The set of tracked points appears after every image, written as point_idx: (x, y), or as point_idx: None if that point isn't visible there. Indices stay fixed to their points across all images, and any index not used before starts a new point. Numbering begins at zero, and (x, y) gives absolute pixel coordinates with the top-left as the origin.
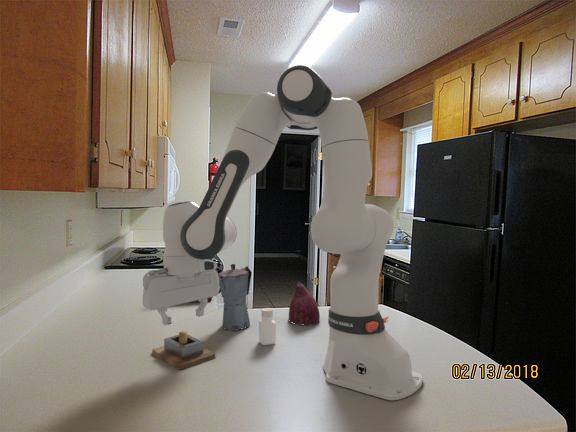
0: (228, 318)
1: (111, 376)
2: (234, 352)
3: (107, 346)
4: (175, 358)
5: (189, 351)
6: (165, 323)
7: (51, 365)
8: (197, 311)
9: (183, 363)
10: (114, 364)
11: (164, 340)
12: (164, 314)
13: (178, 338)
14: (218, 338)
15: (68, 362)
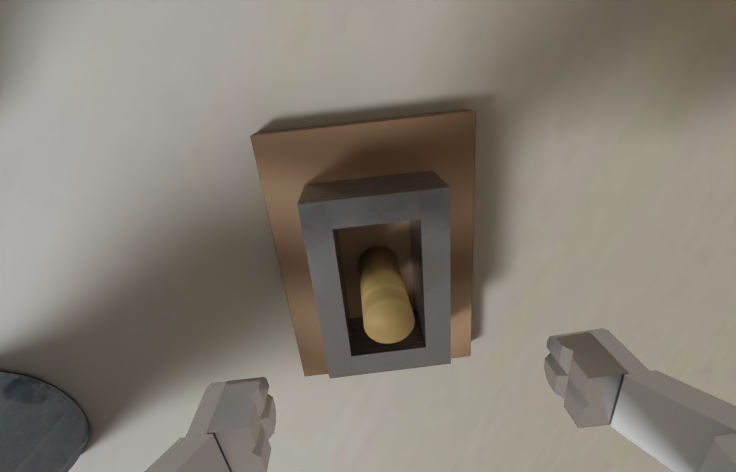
0: (21, 453)
1: (683, 236)
2: (131, 128)
3: (544, 468)
4: None
5: (393, 183)
6: (610, 341)
7: None
8: (259, 435)
9: (446, 127)
10: (613, 328)
11: (448, 354)
12: (712, 403)
13: (379, 345)
14: (152, 338)
15: None
